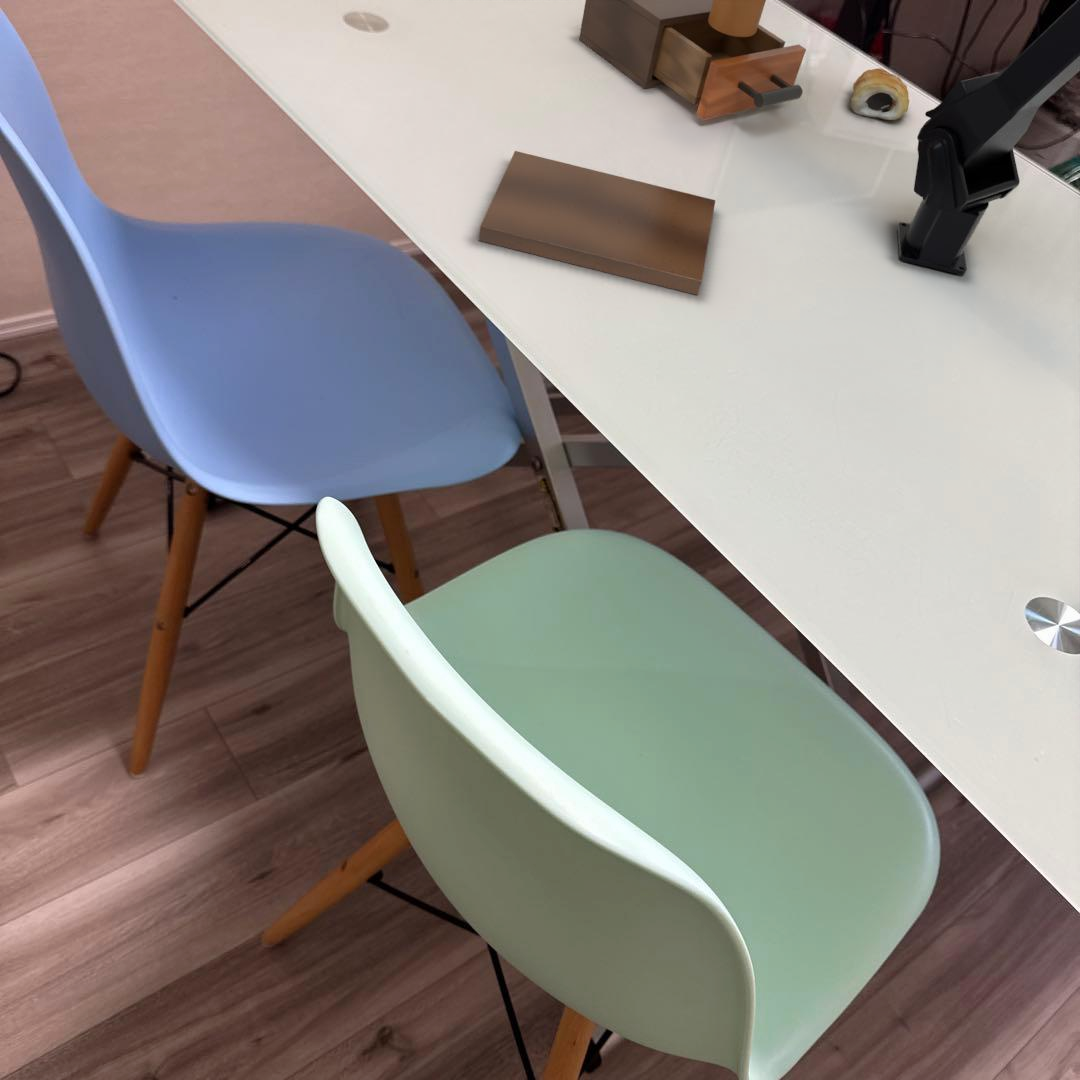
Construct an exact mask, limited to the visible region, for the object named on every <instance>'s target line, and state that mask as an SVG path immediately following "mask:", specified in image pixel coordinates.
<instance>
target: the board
mask: <svg viewBox="0 0 1080 1080" xmlns="http://www.w3.org/2000/svg"><path fill="white" fill-rule="evenodd" d="M715 205H716V199H712V198H708V197H704V196H700V195H696V194H691V193H688V192H684V191H681V190H675V189H672V188H668V187H663V186H659V185H656V184H651V183H647V182H645V181H644V182H643V181H639V180H635V179H631V178H627V177H623V176H620V175H616V174H610V173H607V172H603V171H598V170H595V169H590V168H587V167H583V166H578V165H574V164H570V163H567V162H563V161H559V160H554V159H550V158H546V157H543V156H538V155H535V154H534V155H533V154H530V153H526V152H522V151H518V150H514V152H513V154H512V156H511V158H510V160H509V163H508V165H507V167H506V170H505V172H504V173H503V175H502V178H501V180H500V182H499V184H498V187H497V188H496V192H495V193H494V196H493V197H492V200H491V202H490V204H489V206H488V208H487V211H486V212H485V215H484V217H483V220H482V221H481V224H480V226H479V235H478V241H479V242H483V243H487V244H491V245H494V246H499V247H502V248H507V249H510V250H514V251H517V252H518V251H519V252H523V253H526V254H529V255H530V254H531V255H535V256H538V257H544V258H546V259H551V260H555V261H559V262H563V263H568V264H572V265H575V266H579V267H582V268H587V269H590V270H595V271H599V272H603V273H607V274H611V275H615V276H619V277H622V278H626V279H631V280H635V281H639V282H644V283H647V284H650V285H651V284H652V285H654V286H659V287H664V288H666V289H667V288H668V289H671V290H675V291H678V292H679V291H680V292H683V293H688V294H692V295H695V296H698V295H699V292H700V289H701V286H702V282H703V278H704V271H705V265H706V260H707V253H708V247H709V241H710V237H711V229H712V222H713V218H714V213H715V212H714V211H715Z"/></svg>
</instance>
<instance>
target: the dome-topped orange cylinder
mask: <svg viewBox="0 0 1080 1080" xmlns="http://www.w3.org/2000/svg"><path fill="white" fill-rule="evenodd" d="M766 1H767V0H713V3H712V7H711V11H710V14H709V18H708V23H709V24H710V26H711V27H712V28H714V29H715V30H717V31H719V32H721V33H724V34H727V35H730V36H735V37H749V36H752V35H754V34H755V33H756V31H757V28H758V25H760V21H761V18H762V14H763V11H764V8H765V5H766Z"/></svg>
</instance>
